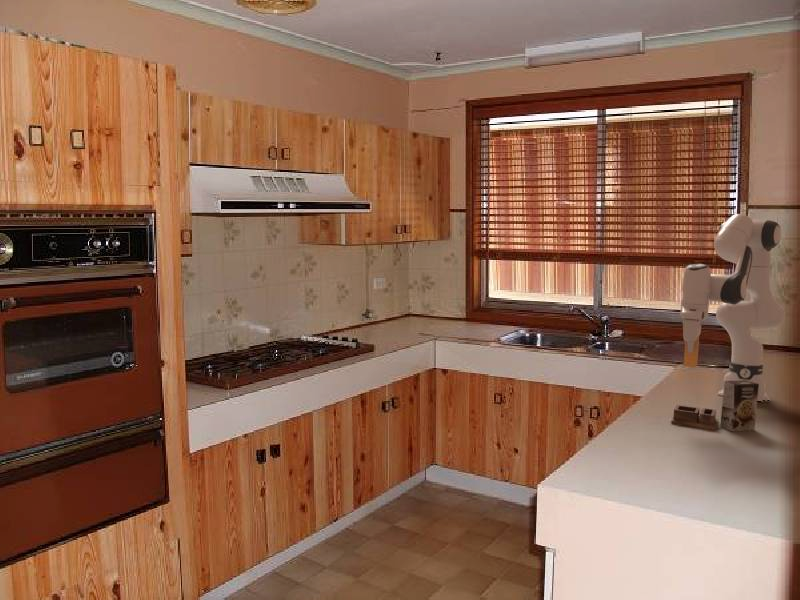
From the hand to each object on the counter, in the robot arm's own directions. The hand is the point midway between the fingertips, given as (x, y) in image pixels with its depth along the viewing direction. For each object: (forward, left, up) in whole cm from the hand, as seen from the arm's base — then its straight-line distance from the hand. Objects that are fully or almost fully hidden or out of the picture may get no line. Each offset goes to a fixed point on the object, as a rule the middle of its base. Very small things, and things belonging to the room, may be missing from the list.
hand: (691, 351), depth 245 cm
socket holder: (0, +3, -25) cm, 25 cm away
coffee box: (-1, +16, -25) cm, 30 cm away
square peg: (0, 0, -5) cm, 5 cm away
